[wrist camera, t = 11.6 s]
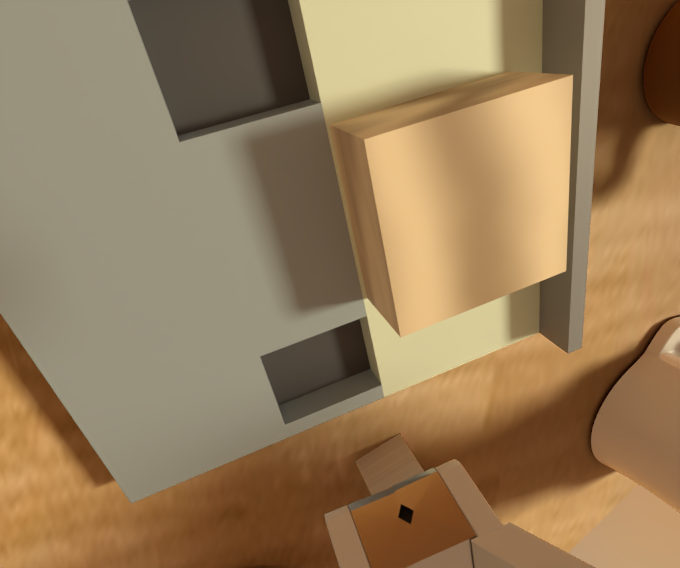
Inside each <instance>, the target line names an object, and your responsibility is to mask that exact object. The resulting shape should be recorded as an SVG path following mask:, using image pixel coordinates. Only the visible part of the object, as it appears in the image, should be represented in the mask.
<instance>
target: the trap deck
mask: <svg viewBox="0 0 680 568" xmlns="http://www.w3.org/2000/svg"><path fill="white" fill-rule="evenodd" d="M604 15H605V0H0V314H1V315H2V317H3V318H4V319H5V321H6V322H7V324H8V325H9V327H10V328H11V330H12V331H13V332H14V334H15V335H16V337H17V338H18V340H19V341H20V343H21V344H22V346H23V347H24V348H25V350H26V351H27V353H28V354H29V356H30V357H31V359H32V360H33V362H34V363H35V364H36V366H37V367H38V369H39V370H40V372H41V373H42V375H43V376H44V377H45V379H46V380H47V382H48V383H49V385H50V386H51V388H52V389H53V391H54V392H55V393H56V395H57V396H58V398H59V399H60V401H61V402H62V404H63V405H64V407H65V408H66V409H67V411H68V412H69V414H70V415H71V417H72V418H73V420H74V421H75V423H76V424H77V425H78V427H79V428H80V430H81V431H82V433H83V434H84V436H85V437H86V438H87V440H88V441H89V443H90V444H91V446H92V447H93V449H94V450H95V452H96V453H97V454H98V456H99V457H100V459H101V460H102V462H103V463H104V465H105V466H106V468H107V469H108V470H109V472H110V473H111V475H112V476H113V478H114V479H115V481H116V482H117V483H118V485H119V486H120V488H121V489H122V491H123V492H124V494H125V495H126V497H127V498H128V499H129V501H130V502H131V503H134V502H136V501H138V500H141V499H143V498H145V497H148V496H150V495H153V494H155V493H157V492H160V491H162V490H165V489H167V488H169V487H172V486H174V485H176V484H179V483H181V482H184V481H186V480H188V479H191V478H193V477H196V476H198V475H200V474H203V473H205V472H207V471H210V470H212V469H215V468H217V467H219V466H222V465H224V464H227V463H229V462H231V461H234V460H236V459H238V458H241V457H243V456H246V455H248V454H250V453H253V452H255V451H258V450H260V449H262V448H265V447H267V446H269V445H272V444H274V443H277V442H279V441H281V440H284V439H286V438H289V437H291V436H293V435H296V434H298V433H300V432H303V431H305V430H308V429H310V428H312V427H315V426H317V425H320V424H322V423H324V422H327V421H329V420H332V419H334V418H336V417H339V416H341V415H343V414H346V413H348V412H351V411H353V410H355V409H358V408H360V407H363V406H365V405H367V404H370V403H372V402H374V401H377V400H379V399H382V398H384V397H386V396H389V395H391V394H394V393H396V392H398V391H401V390H403V389H405V388H408V387H410V386H413V385H415V384H417V383H420V382H422V381H425V380H427V379H429V378H432V377H434V376H436V375H439V374H441V373H444V372H446V371H448V370H451V369H453V368H456V367H458V366H460V365H463V364H465V363H467V362H470V361H472V360H475V359H477V358H479V357H482V356H484V355H487V354H489V353H491V352H494V351H496V350H498V349H501V348H503V347H506V346H508V345H510V344H513V343H515V342H518V341H520V340H522V339H525V338H527V337H529V336H532V335H534V334H537V333H541V334H542V335H543V336H545V337H546V338H548V339H549V340H550V341H552V342H553V343H554V344H556V345H557V346H558V347H560V348H561V349H562V350H564V351H565V352H567V353H570V352H573V351H575V350H577V349H580V348H582V337H583V322H584V308H585V293H586V278H587V264H588V249H589V234H590V220H591V205H592V191H593V176H594V161H595V147H596V132H597V117H598V103H599V88H600V73H601V59H602V44H603V29H604ZM508 71H514V72H531V73H549V74H567V75H573V92H572V120H571V148H570V177H569V205H568V234H567V262H566V271H565V272H562V273H560V274H558V275H555V276H553V277H550V278H548V279H545V280H543V281H540V282H538V283H535V284H533V285H530V286H528V287H525V288H523V289H520V290H518V291H515V292H513V293H510V294H508V295H505V296H503V297H500V298H498V299H495V300H493V301H490V302H488V303H486V304H483V305H481V306H478V307H476V308H473V309H471V310H468V311H466V312H463V313H461V314H458V315H456V316H453V317H451V318H448V319H446V320H443V321H441V322H438V323H436V324H433V325H431V326H428V327H426V328H423V329H421V330H418V331H416V332H413V333H411V334H409V335H406V336H404V337H401V338H400V336H399V335H398V334H397V333H396V332H395V330H394V329H393V328H392V327H391V326H390V325H389V323H388V322H387V321H386V320H385V319H384V317H383V316H382V315H381V314H380V313H379V311H378V310H377V309H376V308H375V307H374V306H373V304H372V303H371V302H370V301H369V300H368V298H367V294H366V290H365V285H364V281H363V276H362V272H361V267H360V262H359V258H358V253H357V249H356V244H355V239H354V235H353V230H352V226H351V221H350V217H349V212H348V207H347V203H346V198H345V194H344V189H343V184H342V180H341V175H340V171H339V166H338V162H337V157H336V152H335V148H334V143H333V139H332V134H331V129H330V124H334V123H337V122H340V121H344V120H347V119H350V118H354V117H357V116H360V115H364V114H367V113H370V112H374V111H377V110H381V109H384V108H387V107H391V106H394V105H397V104H401V103H404V102H407V101H411V100H414V99H417V98H421V97H424V96H427V95H431V94H434V93H437V92H441V91H444V90H448V89H451V88H454V87H458V86H461V85H464V84H468V83H471V82H474V81H478V80H481V79H484V78H488V77H491V76H494V75H498V74H501V73H505V72H508Z"/></svg>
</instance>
